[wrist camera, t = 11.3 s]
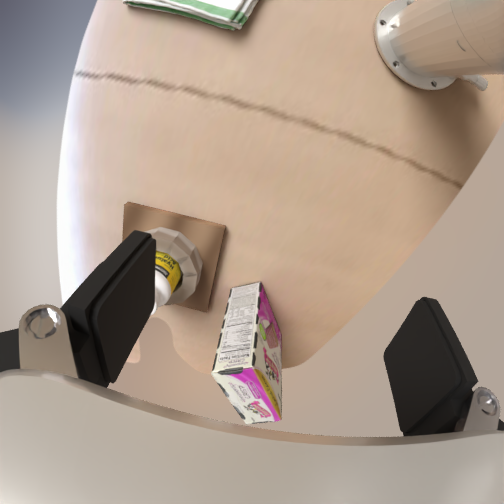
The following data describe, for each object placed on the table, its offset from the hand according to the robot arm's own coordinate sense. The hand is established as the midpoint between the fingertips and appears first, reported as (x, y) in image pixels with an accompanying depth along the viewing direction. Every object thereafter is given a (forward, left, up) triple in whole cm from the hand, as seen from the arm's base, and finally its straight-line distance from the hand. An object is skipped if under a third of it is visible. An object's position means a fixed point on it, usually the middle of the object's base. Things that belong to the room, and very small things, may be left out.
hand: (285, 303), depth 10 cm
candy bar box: (-3, +23, -28) cm, 36 cm away
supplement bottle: (+11, +17, -26) cm, 33 cm away
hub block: (+11, +17, -27) cm, 34 cm away
